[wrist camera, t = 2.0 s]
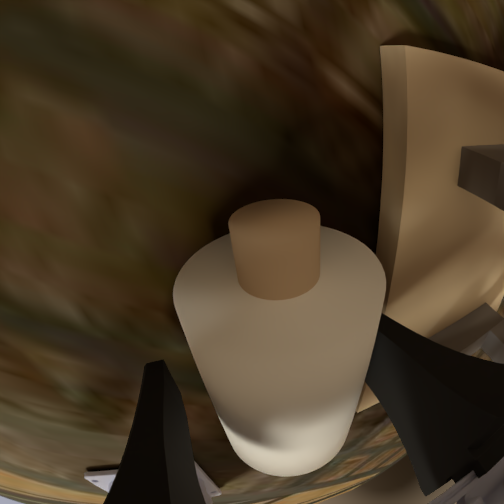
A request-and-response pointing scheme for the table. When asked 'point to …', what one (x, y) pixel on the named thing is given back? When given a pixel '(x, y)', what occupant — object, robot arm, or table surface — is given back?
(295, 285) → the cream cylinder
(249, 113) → the table surface
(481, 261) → the roll holder
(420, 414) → the robot arm
